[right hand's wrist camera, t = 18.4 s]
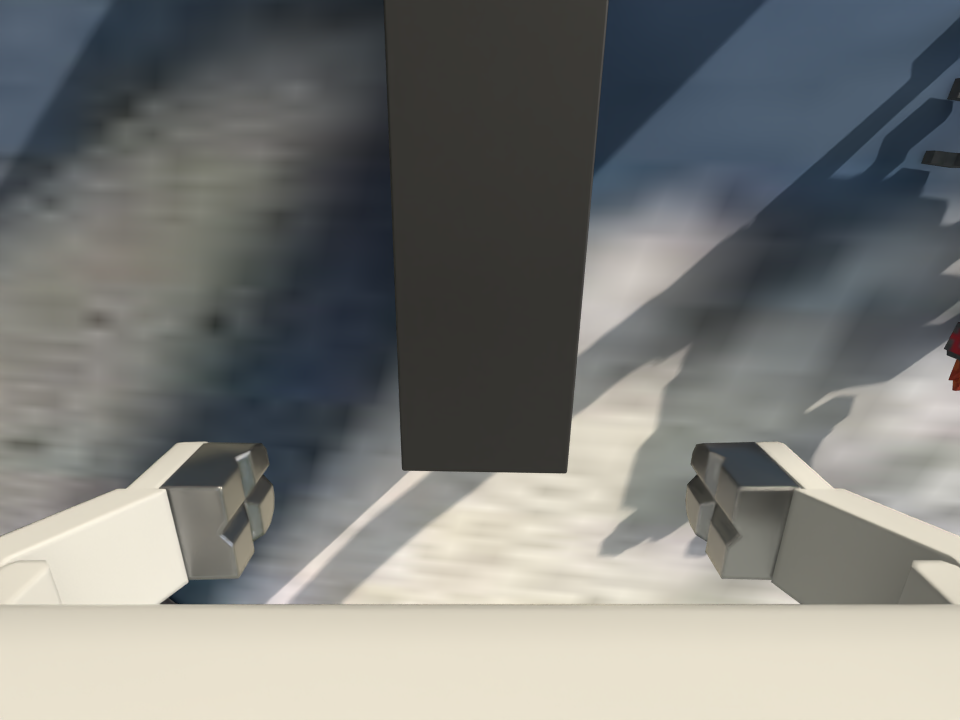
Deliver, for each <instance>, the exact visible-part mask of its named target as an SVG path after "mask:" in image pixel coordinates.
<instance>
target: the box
mask: <svg viewBox="0 0 960 720" xmlns="http://www.w3.org/2000/svg"><path fill="white" fill-rule="evenodd" d="M383 1H384V26H385V51H386V77H387V102H388V127H389V152H390V178H391V203H392V228H393V253H394V278H395V304H396V329H397V354H398V379H399V405H400V430H401V455H402V469H403V470H404V471H460V472H517V473H566V472H567V466H568V455H569V443H570V432H571V421H572V409H573V398H574V387H575V375H576V364H577V353H578V342H579V330H580V319H581V308H582V296H583V285H584V274H585V262H586V251H587V240H588V229H589V217H590V206H591V195H592V183H593V172H594V161H595V149H596V138H597V127H598V115H599V104H600V93H601V82H602V70H603V59H604V48H605V36H606V25H607V14H608V2H609V0H383Z"/></svg>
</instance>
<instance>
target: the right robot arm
mask: <svg viewBox="0 0 960 720" xmlns="http://www.w3.org/2000/svg"><path fill="white" fill-rule="evenodd" d="M268 465H269V460H268V455H267V450H266V448H265V447H264V446H263V444H262V443H226V442H209V443H208V442H182V443H176V444H175V445H174V446H173V447H172V448H171V449H170V450H169V451H167V452H166V453H165V454H164V455H163V456H162V457H161V458H160V459H159V460H157V461H156V462H155V463H154V464H153V465H152V466H151V467H150V468H149V469H147V470H146V471H145V472H144V473H143V474H142V475H141V476H140V477H139V478H137V479H136V480H135V481H134V482H133V483H132V484H131V485H130V486H129V487H127V488H126V489H115V490H113V491H110V492H108V493H106V494H103V495H101V496H98V497H96V498H93V499H91V500H88V501H86V502H83V503H81V504H78V505H76V506H73V507H71V508H69V509H66V510H64V511H61V512H59V513H56V514H54V515H51V516H49V517H46V518H44V519H41V520H39V521H36V522H34V523H32V524H29V525H27V526H24V527H22V528H19V529H17V530H14V531H12V532H9V533H7V534H4V535H2V536H0V720H960V536H958V535H955V534H953V533H950V532H948V531H945V530H943V529H941V528H938V527H936V526H933V525H931V524H928V523H926V522H923V521H921V520H918V519H916V518H913V517H911V516H909V515H906V514H904V513H901V512H899V511H896V510H894V509H891V508H889V507H886V506H884V505H881V504H879V503H877V502H874V501H872V500H869V499H867V498H864V497H862V496H859V495H857V494H854V493H852V492H849V491H847V490H845V489H834V488H833V487H832V486H830V485H829V484H828V483H827V482H826V481H825V480H824V479H823V478H822V477H820V476H819V475H818V474H817V473H816V472H815V471H814V470H813V469H812V468H810V467H809V466H808V465H807V464H806V463H805V462H804V461H803V460H802V459H800V458H799V457H798V456H797V455H796V454H795V453H794V452H793V451H792V450H791V449H789V448H788V447H787V446H786V445H785V444H783V443H780V442H740V443H702V444H696V446H695V448H694V451H693V454H692V459H691V466H692V467H693V469H694V470H695V472H696V473H697V475H696V476H695V477H694V478H693V479H692V480H691V481H690V482H689V483H688V484H687V491H686V499H685V501H686V511H687V517H688V520H689V523H690V525H691V527H692V529H693V531H694V533H695V534H696V535H697V536H699V537H700V538H702V539H704V540H705V541H707V545H706V551H705V552H706V553H707V555H708V557H709V558H710V560H711V562H712V563H713V565H714V567H715V568H716V570H717V572H718V573H719V575H720V577H721V578H722V579H758V580H772V581H771V582H772V583H773V584H775V585H776V586H777V587H779V588H780V589H781V590H783V591H784V592H785V593H787V594H788V595H789V596H791V597H792V598H793V599H795V600H796V601H797V602H799V603H800V604H160V603H161V602H163V601H164V600H166V599H167V598H168V597H170V596H171V595H172V594H174V593H175V592H176V591H178V590H179V589H180V588H182V587H183V586H184V585H186V584H187V583H188V582H189V581H188V580H201V579H237V578H239V577H240V575H241V573H242V572H243V570H244V568H245V567H246V565H247V563H248V562H249V560H250V558H251V557H252V555H253V553H254V552H255V551H254V545H253V541H255V540H256V539H258V538H260V537H261V536H263V535H264V534H265V533H266V531H267V529H268V527H269V525H270V523H271V519H272V515H273V511H274V490H273V484H272V483H271V482H270V481H269V480H268V479H267V478H266V477H265V476H264V475H263V473H264V472H265V470H266V469H267V467H268Z"/></svg>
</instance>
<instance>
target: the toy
mask: <svg viewBox="0 0 960 720" xmlns="http://www.w3.org/2000/svg"><path fill="white" fill-rule="evenodd" d="M947 99H949V100H956V101H960V78H957V79H955V81H954V84H953V86H952V89H951V91H950V94H949V96H948V98H947ZM922 164H928V165H935V166H942V167H948V168H960V153H949V152H942V151H926V153H925V155H924V158H923V160H922ZM944 349H945V350H947V355H948V356H950V357H953V358H955V359H957V360H956V362H955V365H954V367H953V370H952V372H951V375H950V377H949V380H953V389H952V390H954V391H959V390H960V322H958V323H957V325H956V327H955V329H954V331H953V333H952V335H951V336H950V338H949V340H948V342H947V344H946V346H945V348H944Z"/></svg>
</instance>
